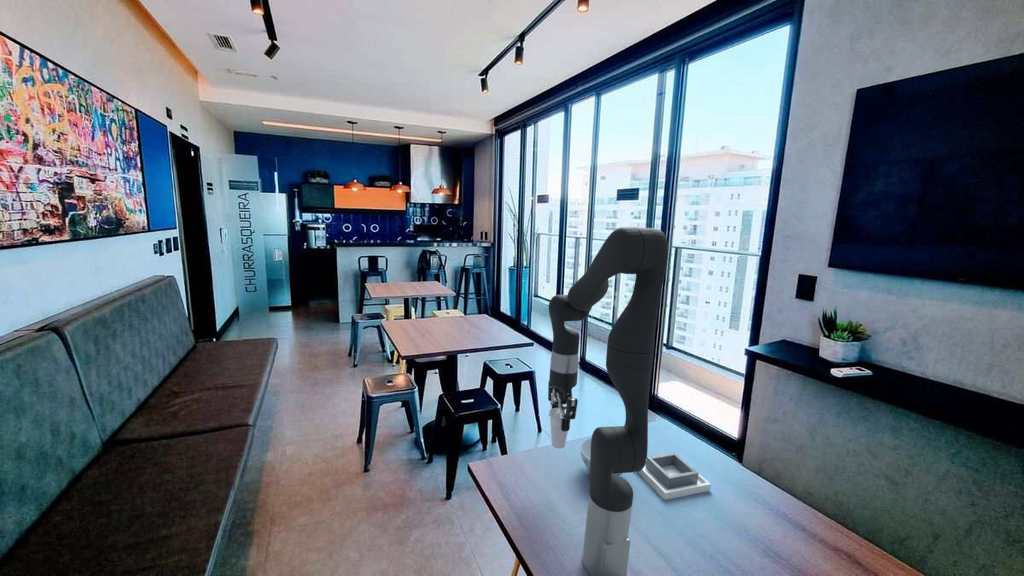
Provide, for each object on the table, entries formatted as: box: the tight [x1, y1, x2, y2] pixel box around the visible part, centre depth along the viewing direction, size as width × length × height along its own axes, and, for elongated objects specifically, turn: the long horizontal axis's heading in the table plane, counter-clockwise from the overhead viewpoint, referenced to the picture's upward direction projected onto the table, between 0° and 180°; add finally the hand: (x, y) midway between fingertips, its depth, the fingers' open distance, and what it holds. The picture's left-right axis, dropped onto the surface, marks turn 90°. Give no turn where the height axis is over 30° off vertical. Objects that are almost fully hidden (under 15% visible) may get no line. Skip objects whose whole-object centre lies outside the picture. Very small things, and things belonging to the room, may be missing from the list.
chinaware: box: [579, 437, 623, 476], centre depth 123 cm, size 15×15×8 cm
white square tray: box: [637, 452, 712, 501], centre depth 123 cm, size 15×16×5 cm
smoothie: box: [548, 408, 572, 449], centre depth 113 cm, size 6×6×14 cm
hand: (559, 424), depth 113 cm, fingers closed on smoothie, 6 cm apart
